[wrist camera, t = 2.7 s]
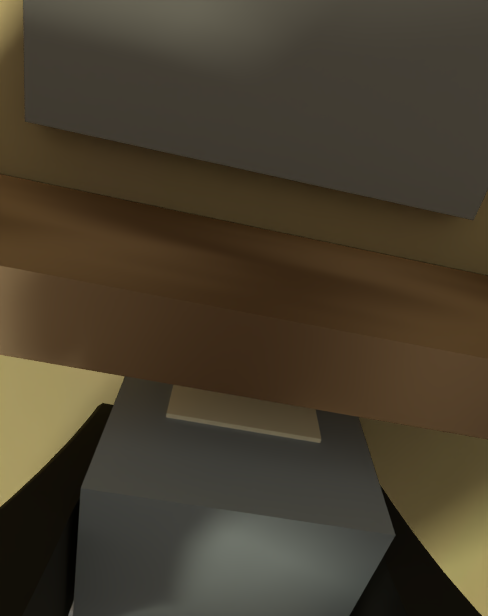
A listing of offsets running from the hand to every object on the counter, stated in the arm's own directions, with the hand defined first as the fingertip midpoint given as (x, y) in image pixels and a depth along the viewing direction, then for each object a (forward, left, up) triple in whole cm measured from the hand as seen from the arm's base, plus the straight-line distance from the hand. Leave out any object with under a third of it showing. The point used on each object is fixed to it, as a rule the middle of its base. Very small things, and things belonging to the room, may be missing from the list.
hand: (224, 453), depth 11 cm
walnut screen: (+1, +4, -1) cm, 5 cm away
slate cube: (0, 0, -1) cm, 1 cm away
